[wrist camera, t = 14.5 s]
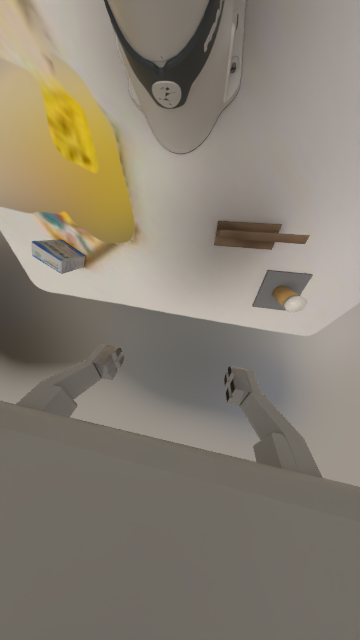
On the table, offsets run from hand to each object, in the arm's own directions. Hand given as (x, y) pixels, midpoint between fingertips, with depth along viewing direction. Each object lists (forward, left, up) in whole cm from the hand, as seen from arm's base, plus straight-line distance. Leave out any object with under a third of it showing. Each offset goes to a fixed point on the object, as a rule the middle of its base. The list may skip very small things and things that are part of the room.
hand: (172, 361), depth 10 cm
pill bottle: (+5, +25, -33) cm, 42 cm away
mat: (+5, +25, -34) cm, 42 cm away
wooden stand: (-8, +11, -34) cm, 37 cm away
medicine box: (0, -40, -34) cm, 53 cm away
